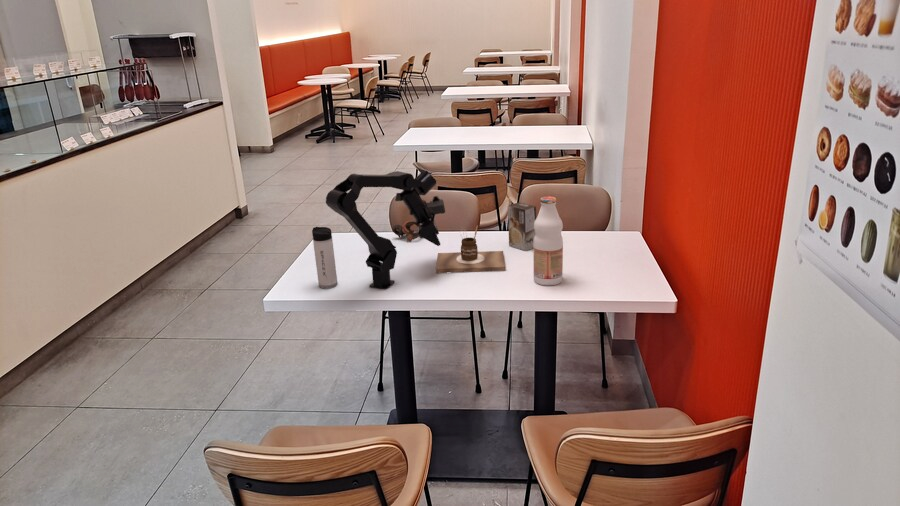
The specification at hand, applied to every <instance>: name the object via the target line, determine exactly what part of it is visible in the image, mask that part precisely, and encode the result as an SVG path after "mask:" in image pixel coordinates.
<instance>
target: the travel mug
mask: <svg viewBox="0 0 900 506" xmlns="http://www.w3.org/2000/svg"><path fill="white" fill-rule="evenodd" d="M311 233H312V235H311V236H312V241H313V242H312V243H313V244H312V245H313V251H314V256H315V257H314V258H315V260H314V261H315V265H316V275H317V282H318V287H319V288H321V289H332V288H334V287H337V285H338V275H337V266H336V259H335V257H336V256H335V248H334V242H333V240H334V239H333V235H332V234H333V233H332V229H331V228H329V227H326V226H314V227H313V228H312V230H311Z"/></svg>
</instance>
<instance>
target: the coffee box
mask: <svg viewBox="0 0 900 506" xmlns="http://www.w3.org/2000/svg"><path fill="white" fill-rule="evenodd" d="M507 216H508V221H507V222H508V223H507V226H508V247H511V248H515V249H519V250H522V251H525V252H526V251H530V250H532V249H534V247H533V244H534V237H535V230H534V222H535V220H536V218H537V206H536V205H532V204H527V203H524V202H523V203H522V202H519V201H518V202H515V203H512V204H510V205H507Z"/></svg>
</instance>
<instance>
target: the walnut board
mask: <svg viewBox="0 0 900 506" xmlns="http://www.w3.org/2000/svg"><path fill="white" fill-rule="evenodd" d="M435 264H436V266H435V273H436V274H447V272H451V273H454V274H455V273H479V272H481V273H483V272H484V273H485V272H505V271H506V262H505V255H504V250H493V251H492V250H491V251H490V250H489V251H488V250H487V251H478V257H477V259H476V260H473V261H465V260H463V259H462V258H461V251H459V252H457V251H455V252H438V253H437V259H436V263H435ZM451 273H450V274H451Z"/></svg>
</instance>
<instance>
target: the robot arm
mask: <svg viewBox="0 0 900 506" xmlns="http://www.w3.org/2000/svg"><path fill="white" fill-rule="evenodd" d="M436 185H437V180H436V178H434V177H433V176H432V174H431V173H430V172H428V170H424V169H423V170H421V172H420V173H419V174H418V175H417V176H416V177H414V175H413V174H412V173H408V172H402V171H398V170H397V171H391V172H389V173H387V174H359V173H351V174H350V175H348V176H347V177H346V178H345V179H344V180H343V181H341V182H340V183H338V184H337V185H336V186H334V187H333V189H331V190H330V191H328V193H327V194H326V196H325V204H326V206H327V207H329V209H331V210H332V211H334V212H335V213H337V214H338V215H340V216H342V217H343V218H344V219H345V221H347V222H348V224H349V225H350V226H351V227H352V228H353V230H355V232H356V233H357V234H358V235H359V237H361V239H362V240H363V241H364V242H365V243H366V244H367V246H368V252H369V255H368V257H367V258H366V260H365V265H366V266H367V268H371V273H372V274H371V275H372V276H371V277H372V283H370V284H369V288H374V289H383V290H387V289H388V288H390V287H391V286H393V284H394V283H395V282H396V280H393V279H391V271H390V270H395V269H394V268H395V265H396V259H397V256H398V255H397V254H398V251H397V246H396V245H394V244H393V242H392V240H391V239H389V238H386V237H382V236H381V235H380V236H379V235H378V234H377V232H376V231H375V230H374V229H373V228H372V226H371V225H370V224H369V223H368V221H367V220H366V219H365V218H364V216H362V214H361V213H360V212H359V211H358V207H357V206H358V205H357V202H356V201H357V200H358V199H359V197H360V194H361V191H362V189H363V188H392V189H397V190H402V191H400V192H396V196H395V199H394V201H395V202H403V204H404V205H405V206H406V208H407V209H408V210H409V211H408V212H409V215H410V216H412V217H413V218H414V219H415V220H414V221H415V222H416V224H417V225H419V224H420V226H419V227H417V231H418V235H419V236H420V239H425V241H429V242H430V243H432V244H433V245H435V246H437V247H439V246H441V242H440V239H439V237H438V235H439V234H440V233H439V230H438V226H437V224H436V222H435V216H436V215H439V214H445V213H446V208H445V203H444V200H443V199H442V198H440V197H439V196H438V195H435V196H432V197H433V198H432V200H430V202H427V201H426V200H424V199H423V198H422V197H421V196H426V195H427V194H428V193H429V192H430V191H431V190H432V189H433V188H434V187H435V186H436ZM417 225H416V226H417Z"/></svg>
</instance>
